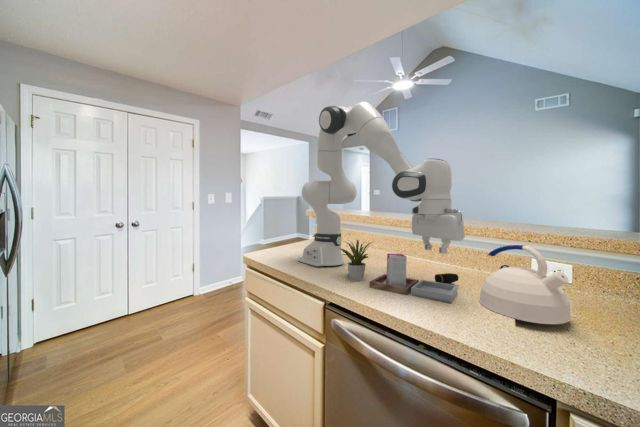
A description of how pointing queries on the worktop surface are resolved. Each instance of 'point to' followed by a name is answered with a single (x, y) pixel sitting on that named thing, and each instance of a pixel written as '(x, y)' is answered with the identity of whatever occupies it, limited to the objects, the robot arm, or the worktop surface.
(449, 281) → the tape measure
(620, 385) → the worktop surface
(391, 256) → the supplement box
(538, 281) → the kettle
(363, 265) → the house plant
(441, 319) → the worktop surface
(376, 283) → the brown square frame
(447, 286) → the grey tray
